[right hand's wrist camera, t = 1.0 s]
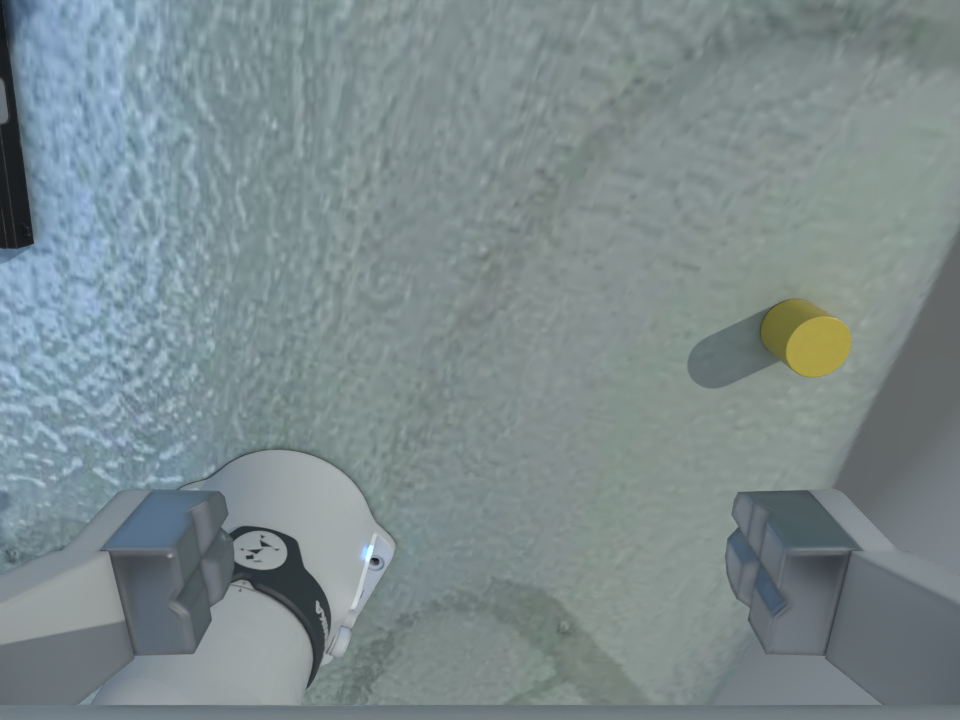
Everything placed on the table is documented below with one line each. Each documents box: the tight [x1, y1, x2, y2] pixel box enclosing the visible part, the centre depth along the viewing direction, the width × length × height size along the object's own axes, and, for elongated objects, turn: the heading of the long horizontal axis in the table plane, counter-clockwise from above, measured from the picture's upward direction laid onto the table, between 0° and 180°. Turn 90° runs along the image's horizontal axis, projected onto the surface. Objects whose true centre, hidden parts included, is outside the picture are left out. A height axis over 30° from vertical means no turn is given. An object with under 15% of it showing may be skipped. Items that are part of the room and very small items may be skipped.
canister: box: [761, 299, 851, 377], centre depth 47 cm, size 4×4×4 cm
